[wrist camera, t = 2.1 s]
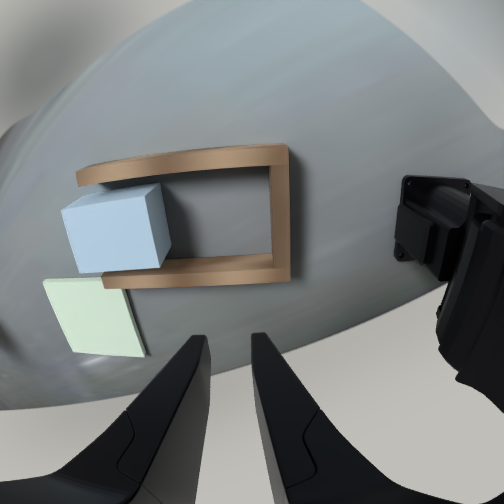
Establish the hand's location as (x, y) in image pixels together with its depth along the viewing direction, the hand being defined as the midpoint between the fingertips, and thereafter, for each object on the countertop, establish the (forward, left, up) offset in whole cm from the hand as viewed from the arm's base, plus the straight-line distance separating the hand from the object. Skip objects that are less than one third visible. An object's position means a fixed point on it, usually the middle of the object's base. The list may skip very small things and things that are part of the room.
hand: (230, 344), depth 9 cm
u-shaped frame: (+3, 0, -12) cm, 13 cm away
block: (+8, 0, -13) cm, 15 cm away
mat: (+13, +9, -12) cm, 20 cm away
